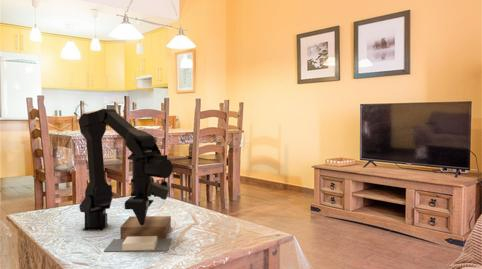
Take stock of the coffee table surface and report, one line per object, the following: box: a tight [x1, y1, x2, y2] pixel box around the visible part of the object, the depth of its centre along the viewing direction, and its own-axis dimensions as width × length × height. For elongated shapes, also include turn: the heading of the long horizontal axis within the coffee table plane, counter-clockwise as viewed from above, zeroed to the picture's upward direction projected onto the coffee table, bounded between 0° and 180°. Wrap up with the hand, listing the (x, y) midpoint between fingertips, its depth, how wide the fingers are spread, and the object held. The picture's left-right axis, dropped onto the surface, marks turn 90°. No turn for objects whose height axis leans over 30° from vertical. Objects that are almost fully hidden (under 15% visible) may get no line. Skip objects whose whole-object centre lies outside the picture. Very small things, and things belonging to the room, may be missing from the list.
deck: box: [119, 215, 172, 239], centre depth 119 cm, size 14×12×4 cm
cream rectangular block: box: [122, 236, 157, 251], centre depth 107 cm, size 9×6×2 cm, turn 95°
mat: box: [103, 237, 173, 253], centre depth 108 cm, size 18×10×1 cm, turn 93°
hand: (142, 224), depth 112 cm, fingers closed
